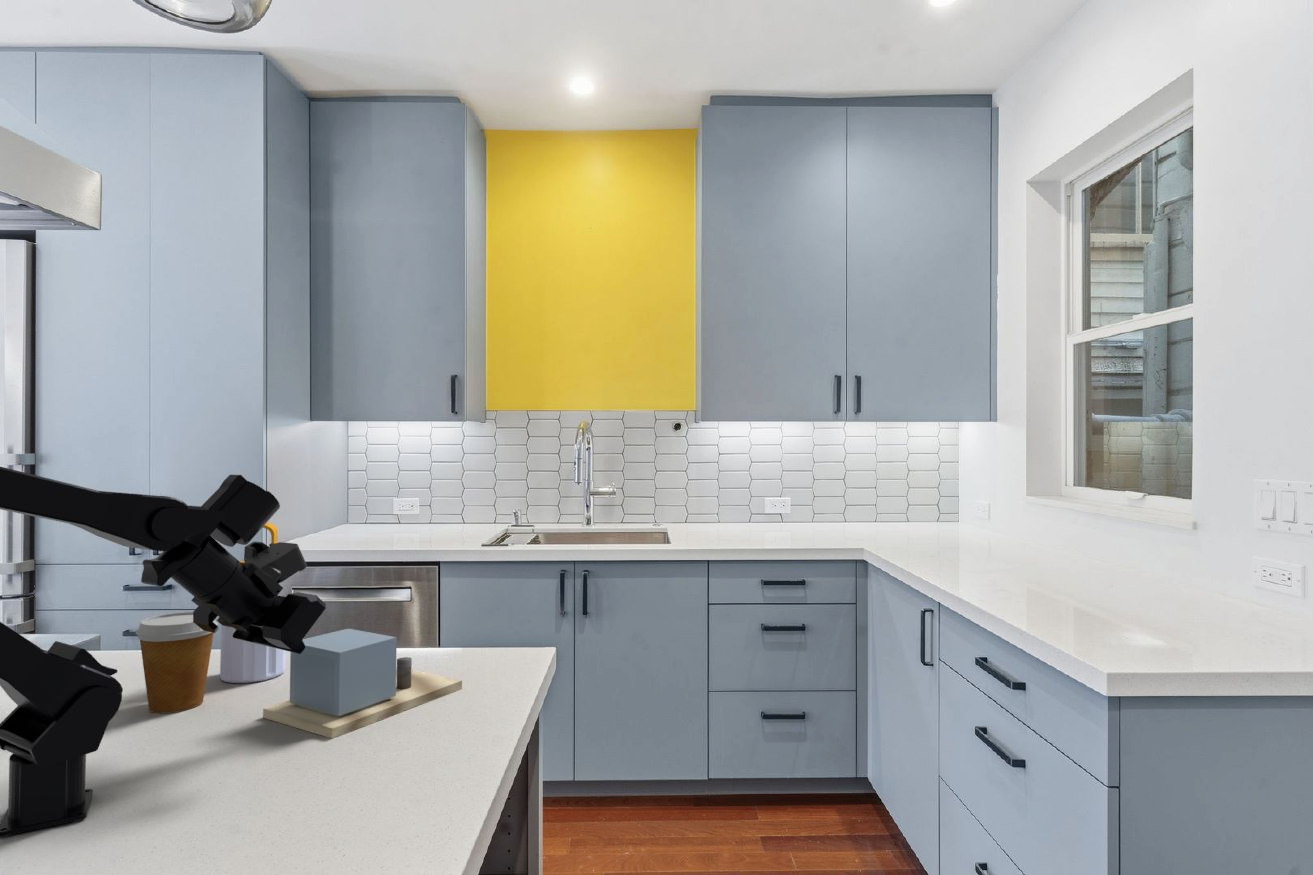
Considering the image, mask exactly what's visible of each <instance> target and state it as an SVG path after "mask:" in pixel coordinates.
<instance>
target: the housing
mask: <svg viewBox="0 0 1313 875" xmlns="http://www.w3.org/2000/svg"><path fill="white" fill-rule="evenodd" d="M397 639H398V638H397V637H396V636H392V635H385V634H380V633H374V632H370V631H369V632H368V631H364V630H358V629H353V628H345V629H341V630H336V631H333V632H329V633H328V632H327V633H323V634H320V635H316V636H311V637H308V638H303V639H302V640H303V642H304V644H305V649H304V650H303V652H302V653H301V654H298V653H293V652H289V653H290V656H289V657H290V660H289V663H290V665H289V669H290V670H289V671H290V672H289V700H290V703H293V704H297V705H300V706H304V707H307V708H311V709H315V710H318V711H322V712H326V713H329V714H333V715H337V716H341V715H344V714H346V713H349V712H352V711H355V710H358V709H360V708H363V707H366V706H369V705H372V704H374V703H377V702H380V701H383V700H386V699H388V698H391V697H394V696H396V667H397V642H398V641H397Z"/></svg>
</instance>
